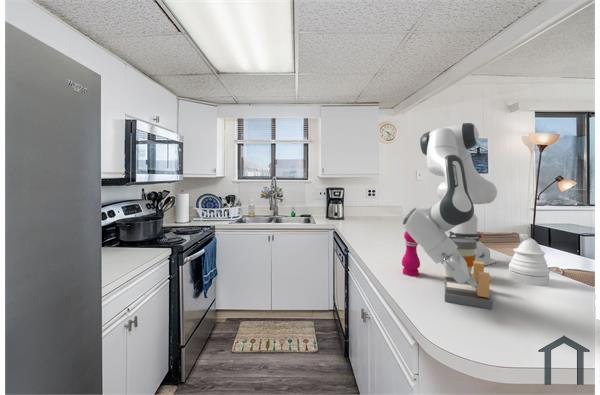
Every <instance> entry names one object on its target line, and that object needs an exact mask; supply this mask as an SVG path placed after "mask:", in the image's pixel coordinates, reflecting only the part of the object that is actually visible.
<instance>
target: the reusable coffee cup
mask: <svg viewBox="0 0 600 395" xmlns="http://www.w3.org/2000/svg"><path fill="white" fill-rule="evenodd" d="M448 237H449V238H450V239H451V240H452V241H453V242H454V243H455V244H456V245H457V246H458V248H457V251H458V252H459V253H460V254H461V256H462V257H463V258H464V259H465V261H466V263H467V267H468V271H469V273H470V274H471V275H472V272H473V261H475V256H476V255H475V250H476V248H477V245H476V240H474V239H470V238H464V237H450V236H448ZM444 269H445V268H444ZM444 271H445V276H447V277H452V276H451V274H450V273H449V272H448V271H447V270H446V269H445V270H444Z"/></svg>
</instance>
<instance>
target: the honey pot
mask: <svg viewBox="0 0 600 395" xmlns="http://www.w3.org/2000/svg"><path fill="white" fill-rule="evenodd" d="M519 236H520V238H521V239H522V240H523V241H521V243H520V244H519V245H518V247H515V248H513V251H514V254H513V255H512V256H511V260H510V262H509V264H508V275H507V278H508V279H509V280H510V281H512V282H515V283H518V284H519V283H520V284H521V285H528V286H537V287H539V286H540V287H543V286H548V285H549V284H550V269H549V267H548V266H549V265H548V264H547V259H546V258H545V255H546V252H545V251H544V250H542V249H541V246H540V245H539V243H538V242H537V241H536V240H535V239H533V238H532V237H529V234H528V233H520V235H519Z"/></svg>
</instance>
